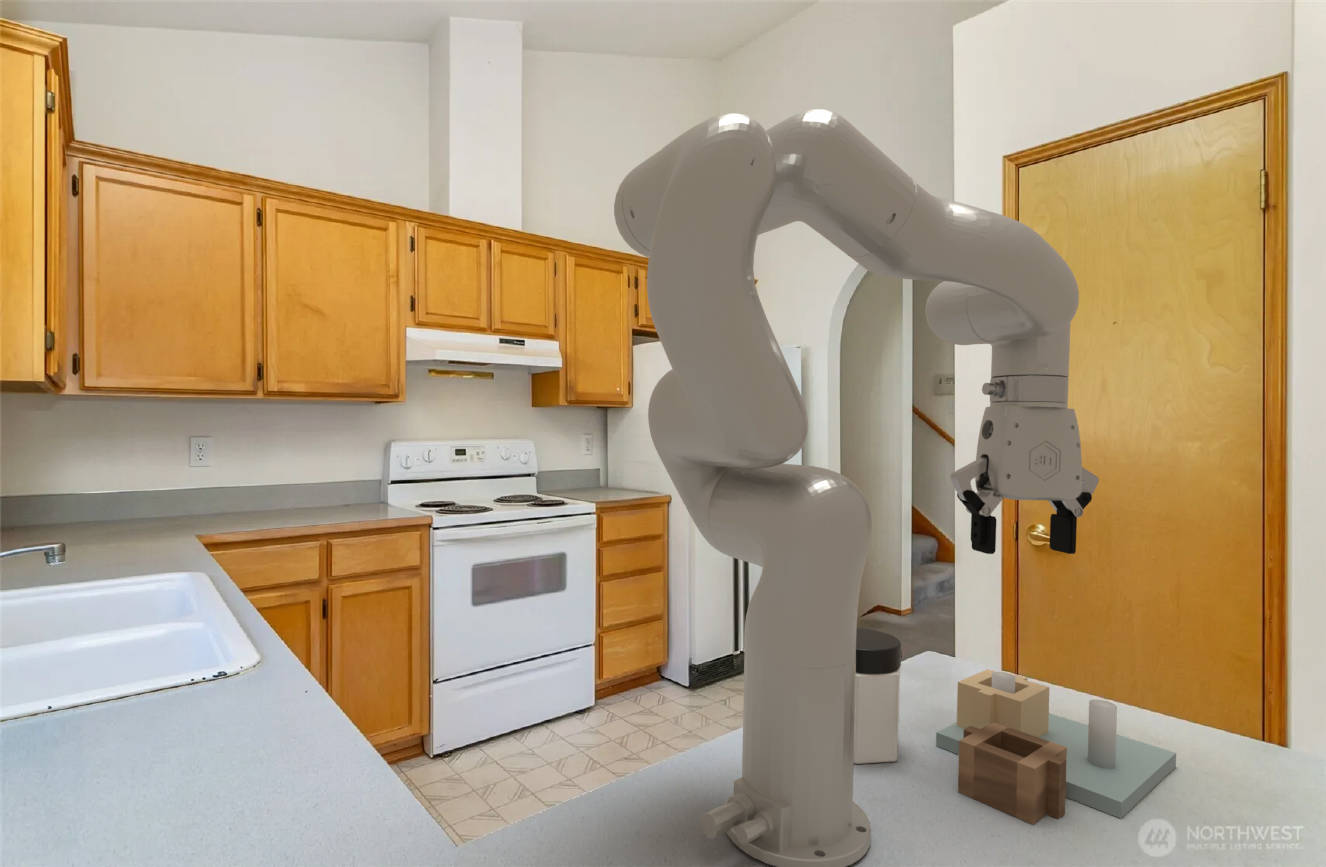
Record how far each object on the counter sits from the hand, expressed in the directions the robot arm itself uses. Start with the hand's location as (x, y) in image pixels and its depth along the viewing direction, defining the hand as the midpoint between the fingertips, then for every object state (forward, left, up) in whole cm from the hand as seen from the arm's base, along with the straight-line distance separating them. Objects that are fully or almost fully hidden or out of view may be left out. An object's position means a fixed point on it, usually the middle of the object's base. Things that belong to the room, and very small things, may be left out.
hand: (1023, 551), depth 76 cm
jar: (-13, +11, -22) cm, 28 cm away
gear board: (+2, -3, -22) cm, 22 cm away
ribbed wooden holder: (-10, -4, -22) cm, 24 cm away
